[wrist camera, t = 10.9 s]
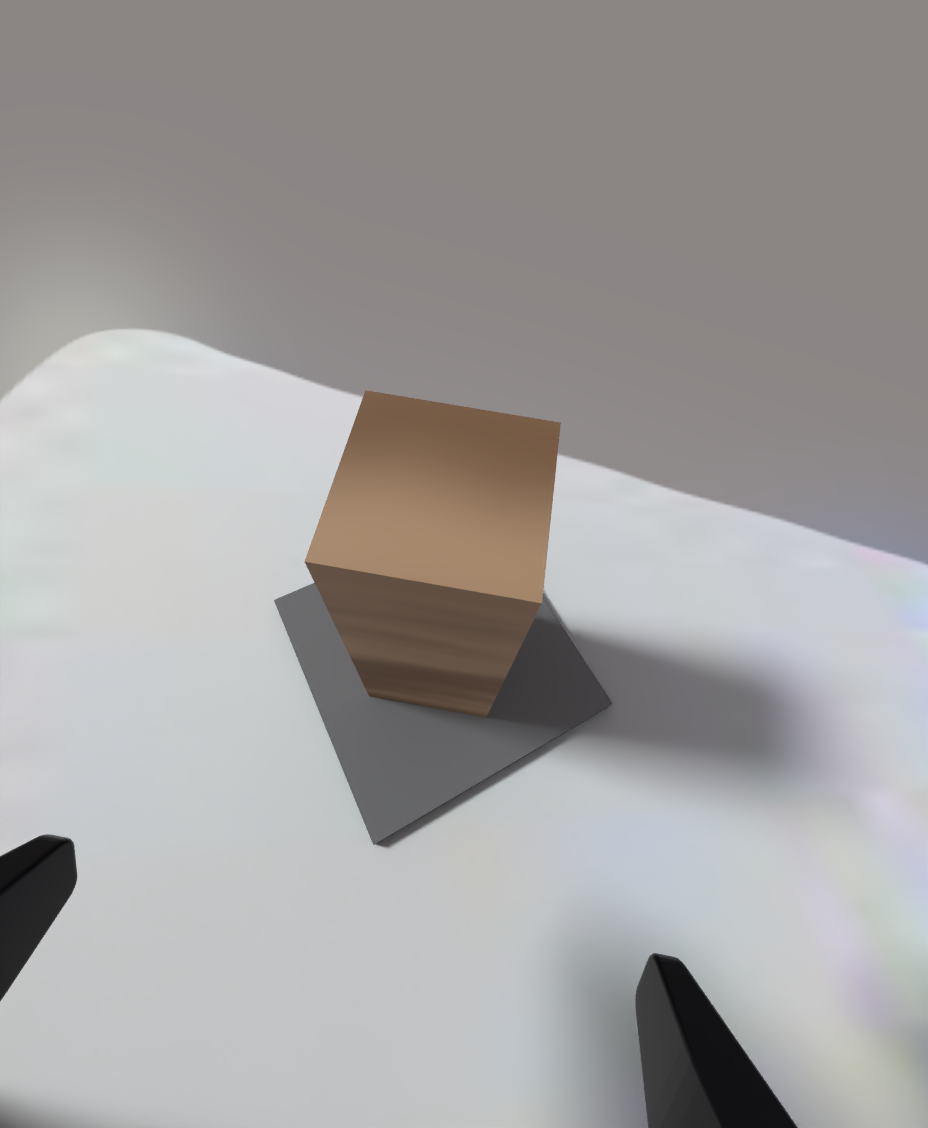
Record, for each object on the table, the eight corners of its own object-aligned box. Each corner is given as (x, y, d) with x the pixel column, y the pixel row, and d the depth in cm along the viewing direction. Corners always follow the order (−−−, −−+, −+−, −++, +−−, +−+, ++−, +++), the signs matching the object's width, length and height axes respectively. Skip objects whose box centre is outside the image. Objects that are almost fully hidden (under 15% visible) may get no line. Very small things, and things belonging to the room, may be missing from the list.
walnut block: (486, 717, 19) (541, 603, 9) (369, 696, 19) (304, 561, 10) (501, 608, 21) (560, 422, 12) (396, 590, 21) (365, 390, 12)
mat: (374, 844, 17) (373, 844, 17) (276, 604, 21) (274, 600, 21) (609, 705, 20) (612, 703, 20) (484, 514, 24) (485, 509, 23)
